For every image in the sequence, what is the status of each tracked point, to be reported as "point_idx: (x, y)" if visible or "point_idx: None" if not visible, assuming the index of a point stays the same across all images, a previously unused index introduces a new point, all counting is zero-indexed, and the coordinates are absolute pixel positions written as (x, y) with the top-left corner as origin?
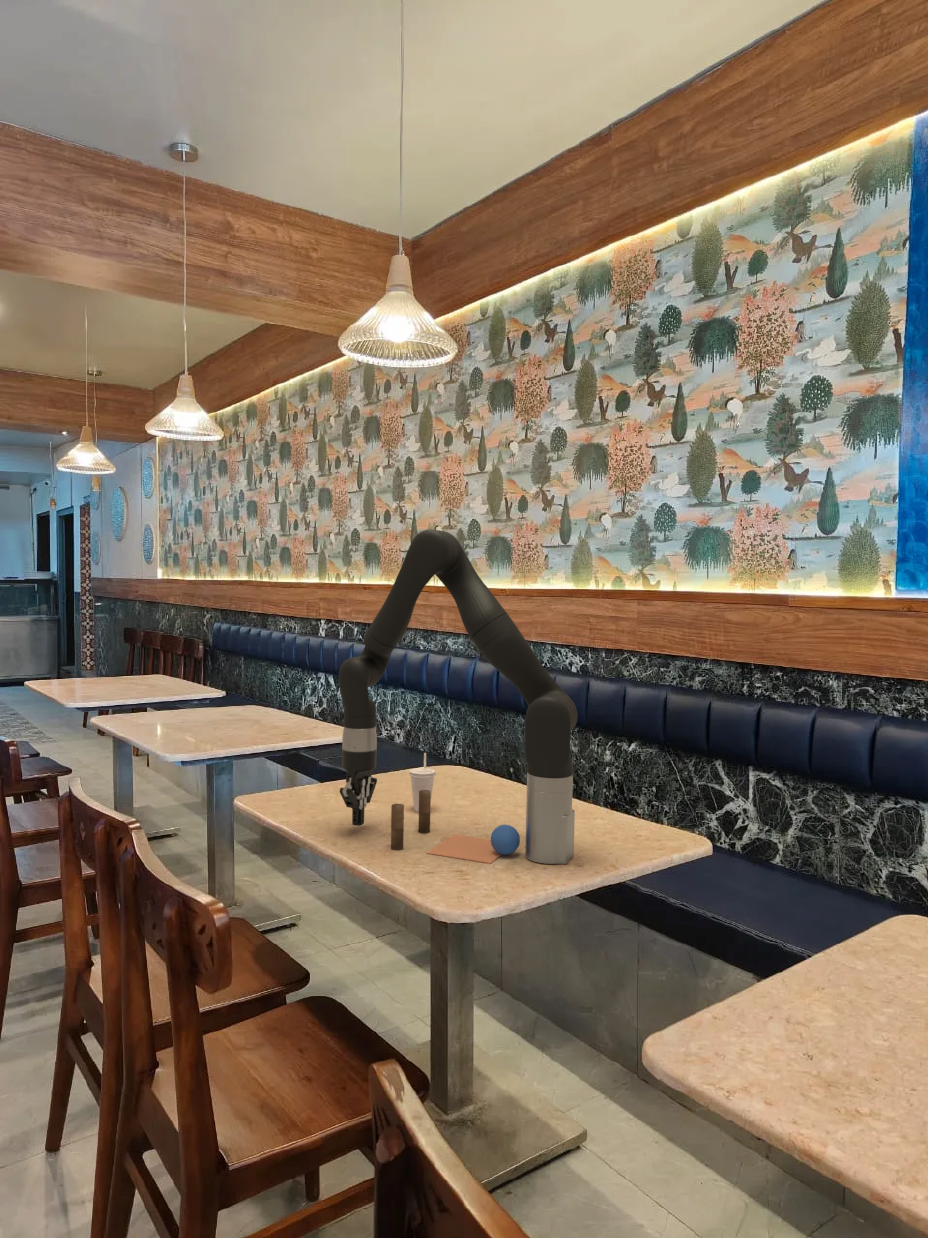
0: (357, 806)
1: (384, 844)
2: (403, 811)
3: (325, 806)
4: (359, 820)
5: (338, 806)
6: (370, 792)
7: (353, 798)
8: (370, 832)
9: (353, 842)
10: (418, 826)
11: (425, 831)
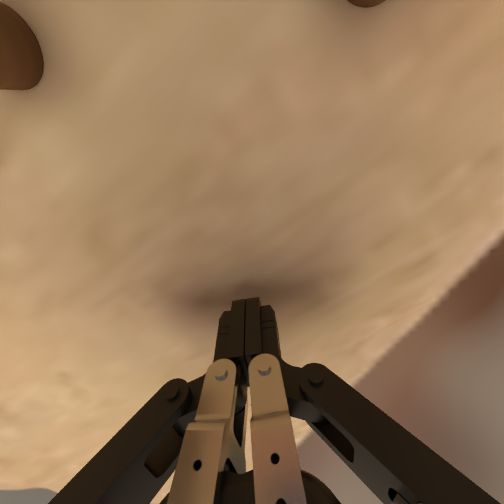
0: (321, 373)
1: (336, 92)
2: None
3: None
4: (260, 316)
5: (115, 430)
6: (142, 448)
7: (394, 441)
8: (225, 257)
9: (371, 229)
10: (15, 74)
11: (4, 6)
